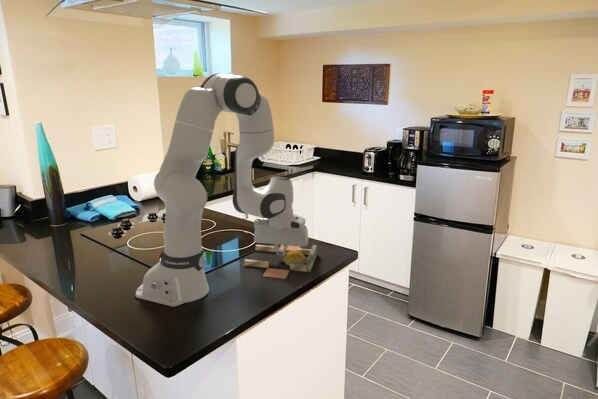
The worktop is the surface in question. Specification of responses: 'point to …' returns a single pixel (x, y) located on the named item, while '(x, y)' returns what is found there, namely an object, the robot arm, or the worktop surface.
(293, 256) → the bread roll
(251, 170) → the robot arm
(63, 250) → the worktop surface
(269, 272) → the trap pads
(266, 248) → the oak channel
